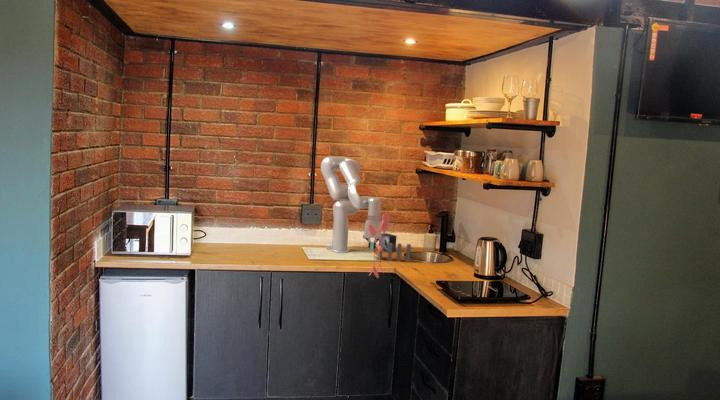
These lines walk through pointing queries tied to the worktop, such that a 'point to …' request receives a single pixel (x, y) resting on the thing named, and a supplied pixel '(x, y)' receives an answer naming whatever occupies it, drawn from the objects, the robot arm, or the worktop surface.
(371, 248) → the domino
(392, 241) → the small box
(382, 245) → the domino
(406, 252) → the domino
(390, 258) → the domino
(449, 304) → the worktop surface
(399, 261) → the domino
